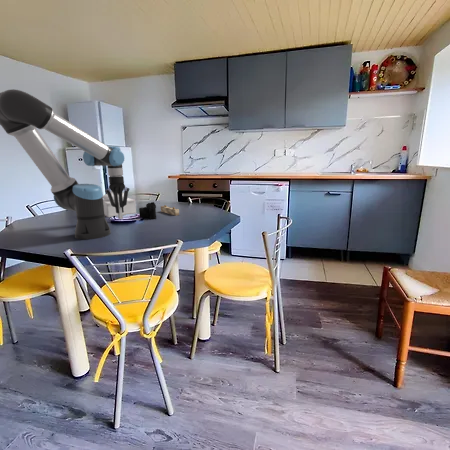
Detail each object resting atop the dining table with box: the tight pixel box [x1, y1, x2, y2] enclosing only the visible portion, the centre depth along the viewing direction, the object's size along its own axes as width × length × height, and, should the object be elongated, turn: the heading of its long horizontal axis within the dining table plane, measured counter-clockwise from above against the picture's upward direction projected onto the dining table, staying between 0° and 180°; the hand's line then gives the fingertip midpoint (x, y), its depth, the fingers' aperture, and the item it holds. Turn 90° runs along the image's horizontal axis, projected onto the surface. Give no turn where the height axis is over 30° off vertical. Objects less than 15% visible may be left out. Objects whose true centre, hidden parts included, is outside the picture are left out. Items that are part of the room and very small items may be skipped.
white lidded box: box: [103, 190, 137, 218], centre depth 179 cm, size 18×18×16 cm
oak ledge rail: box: [160, 204, 180, 217], centre depth 178 cm, size 18×2×4 cm, turn 41°
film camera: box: [138, 201, 157, 220], centre depth 166 cm, size 15×10×9 cm, turn 17°
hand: (120, 218), depth 158 cm, fingers closed
